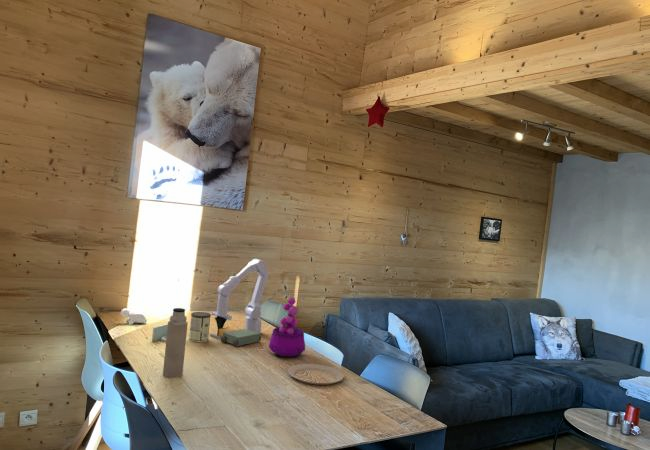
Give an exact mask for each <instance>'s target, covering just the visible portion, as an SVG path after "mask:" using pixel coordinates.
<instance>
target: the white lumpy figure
mask: <svg viewBox="0 0 650 450" xmlns="http://www.w3.org/2000/svg"><path fill="white" fill-rule="evenodd" d="M120 315H121V317H124V318H127V319H126V320H125V322H126V323H128V325H129V326H132V325H134V324H135V323H136V324H141V323H144V324H145V325H146V323H147V321H148V319H147V318H146V316H145V313H143V312H142V311H140V310H138V311H137V310H131V311H130V309H128V308H122V309H121V311H120Z"/></svg>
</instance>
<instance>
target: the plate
mask: <svg viewBox="0 0 650 450" xmlns="http://www.w3.org/2000/svg"><path fill="white" fill-rule="evenodd" d="M301 371H320V372H325V373H328V374H330V375H333V376H334V377H335V378H336V380H334V381H332V382H315V381H308V380H304V379H300V378H298V377H297V376H296V373H298V372H301ZM287 373H288V374H289V375H290V376H291V377H292V378H295V379H296V380H298V381H300V382H302V383H306V384H311V385H319V386H323V385H324V386H325V385H330V384H331V385H332V384H334V383H339V382H340V381H342V380H344V377H345V376H344V374H343V372H341V371H340V369H339V370H338V369H336V368H334V367H331V366H328V365H322V364H315V363H302V364H296V365H292V366H290V367H289V368H288V370H287Z"/></svg>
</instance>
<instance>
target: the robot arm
mask: <svg viewBox="0 0 650 450" xmlns="http://www.w3.org/2000/svg"><path fill="white" fill-rule="evenodd" d="M268 266H269V264H268V263H267V262H266V261H265V260H264V259H263V260H262V259H259V258H252V259H251V261H249V262H248V263H247V265H246V266H245V267H243V268H242V269H241V270H240V271H239V273H237V274H236V275H232V276H229V278H228V279H227V281H226V282H223V284H221V285H219V286H218V288H217V289H216V291H217V293H218V296H217V306H216V311H215V310H214V311H211V313H210V314H211V316H215V317H214V320H215V322H216V326H217V330H218V329H220V328H224V326H225V323H226V322H227V320H228V321H232V320H233V319H232V315H230V314H228V306H229V296H230V295H231V292H232V291H233V290H234V289H235V288H236V287H237V286H238V285H240V283H241V281H242V279H243V278H245V277H246V276H247V275H249V274H250V273H251V272H255V273H257V275H258V277H257V280H256V282H255V287H254V290H253V293H252V297H251V301H249V302H248V304H247V306H246V307H245V309H244V314H245V323H244V324H245V325H244V329H247V330H250V331H253V332H256V333H260V335H261V334H262V319H261V318H260V317H261V315H262V313H261V312H262V311H261V309H262V306H261V301H262V298H263V294H264V291H265V287H266V284H267V280H268V278H269V271H268Z"/></svg>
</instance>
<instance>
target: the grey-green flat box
mask: <svg viewBox="0 0 650 450" xmlns="http://www.w3.org/2000/svg"><path fill="white" fill-rule="evenodd" d="M209 336H210V337H212V338H214V337H215V339H217V338H218V340H220V339H221V340H220V342H221V343H222V344H224V343H228V344H231V345H232V346H233V347H234V348H235V347H236V348H237V347H239V346H243V345H244V346H245V345H248V344H253V343H258V342H261V340H262V337H261V334H260V333H256V332H253V331H250V330H247V329H245V328H243V329H242V328H241V329H237V330H235V331H229V332H224V333H223V336H222V337H220V336H217V334H213V333H209Z"/></svg>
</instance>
